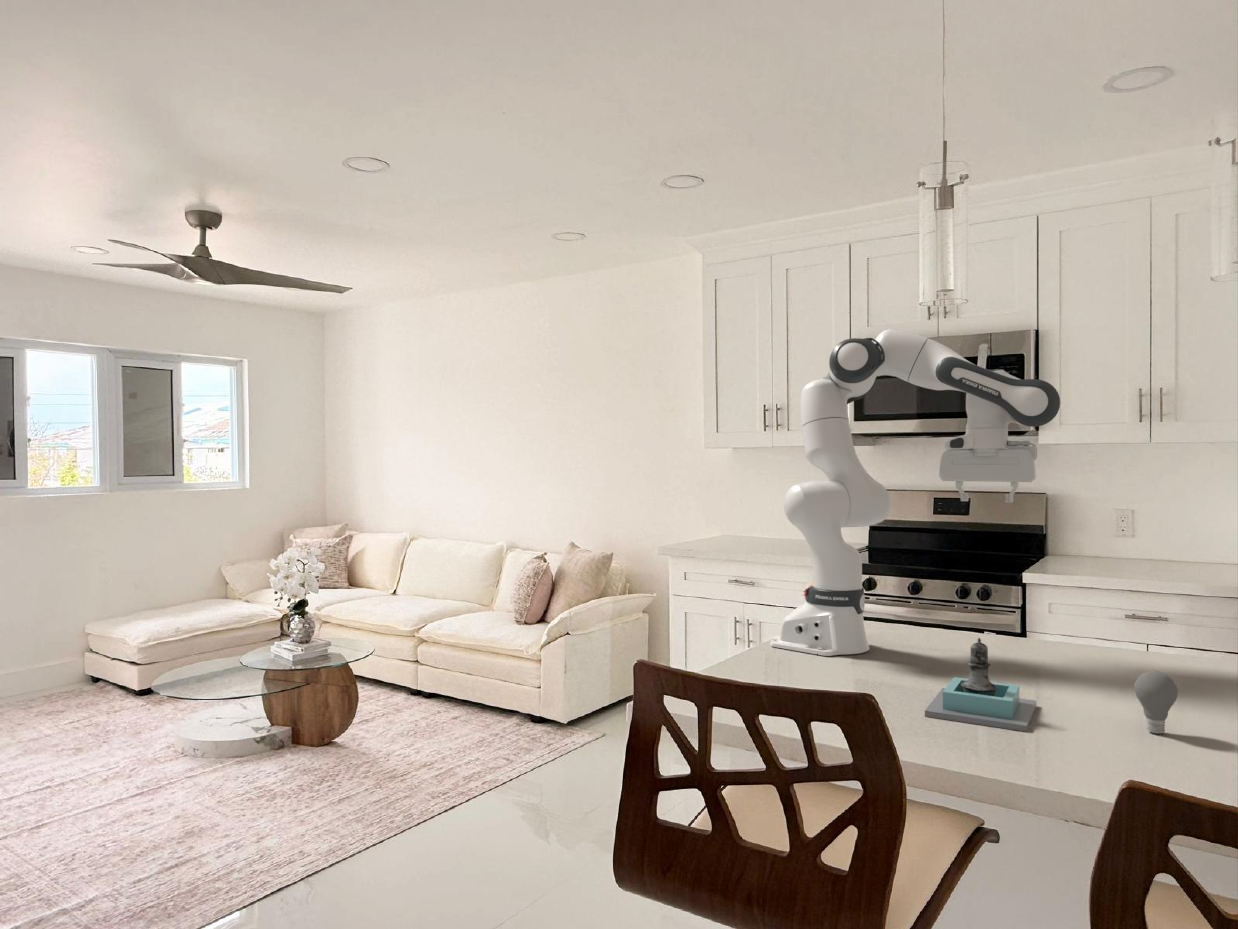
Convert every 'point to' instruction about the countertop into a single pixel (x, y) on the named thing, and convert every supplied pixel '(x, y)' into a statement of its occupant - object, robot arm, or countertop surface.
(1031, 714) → the socket
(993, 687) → the salt shaker
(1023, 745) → the countertop surface
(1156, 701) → the light bulb
